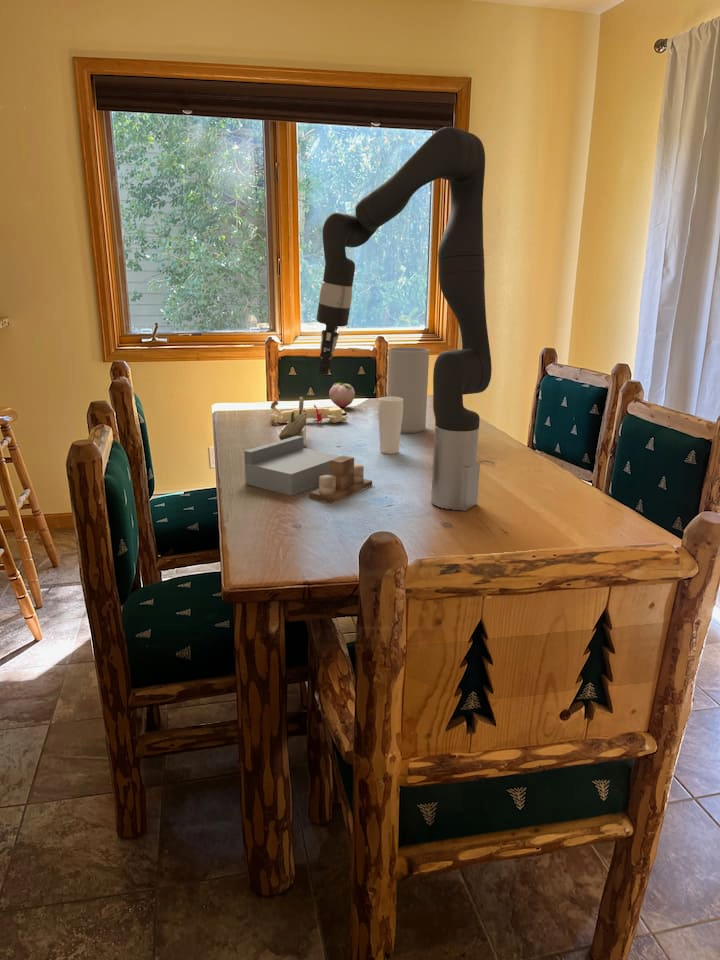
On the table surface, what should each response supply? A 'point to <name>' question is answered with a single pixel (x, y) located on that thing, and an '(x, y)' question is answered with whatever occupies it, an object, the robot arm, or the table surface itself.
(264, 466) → the grey stepped block
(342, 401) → the decorative fruit
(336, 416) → the cat figure
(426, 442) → the table surface
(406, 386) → the cylinder vase
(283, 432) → the wood carving
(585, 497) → the table surface
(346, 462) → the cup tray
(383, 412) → the drinking glass
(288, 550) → the table surface
